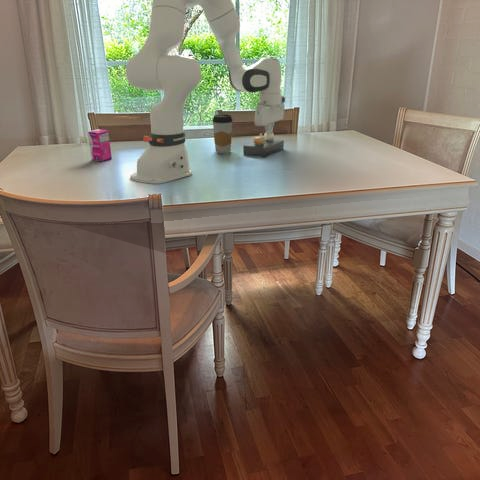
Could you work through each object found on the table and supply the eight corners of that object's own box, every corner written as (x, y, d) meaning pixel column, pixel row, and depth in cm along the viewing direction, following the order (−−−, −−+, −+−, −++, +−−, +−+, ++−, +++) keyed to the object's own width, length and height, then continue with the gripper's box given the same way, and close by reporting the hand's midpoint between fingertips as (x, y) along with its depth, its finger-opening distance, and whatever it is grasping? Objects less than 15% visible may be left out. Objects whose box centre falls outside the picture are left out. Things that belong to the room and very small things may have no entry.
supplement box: (91, 160, 178) (86, 131, 173) (101, 157, 182) (97, 128, 178) (102, 162, 175) (98, 132, 170) (112, 158, 180) (108, 130, 175)
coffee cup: (234, 149, 193) (233, 114, 187) (231, 154, 185) (231, 117, 179) (214, 149, 194) (213, 114, 188) (211, 154, 186) (210, 117, 180)
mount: (264, 157, 180) (265, 147, 178) (243, 154, 185) (243, 145, 183) (283, 149, 193) (283, 140, 192) (263, 146, 198) (263, 137, 196)
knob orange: (260, 155, 183) (260, 138, 180) (252, 154, 185) (252, 137, 182) (265, 153, 186) (265, 137, 183) (256, 152, 188) (257, 136, 185)
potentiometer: (262, 143, 187) (262, 134, 185) (257, 142, 188) (257, 134, 186) (264, 141, 189) (264, 133, 187) (259, 141, 190) (259, 133, 188)
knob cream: (270, 150, 190) (271, 135, 187) (262, 149, 192) (262, 134, 189) (275, 149, 193) (275, 133, 190) (266, 148, 195) (267, 132, 192)
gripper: (264, 103, 175) (264, 138, 180) (287, 97, 191) (286, 130, 196) (250, 102, 178) (250, 137, 183) (274, 96, 193) (273, 129, 199)
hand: (269, 133), depth 190 cm, fingers closed, pressing on knob cream
